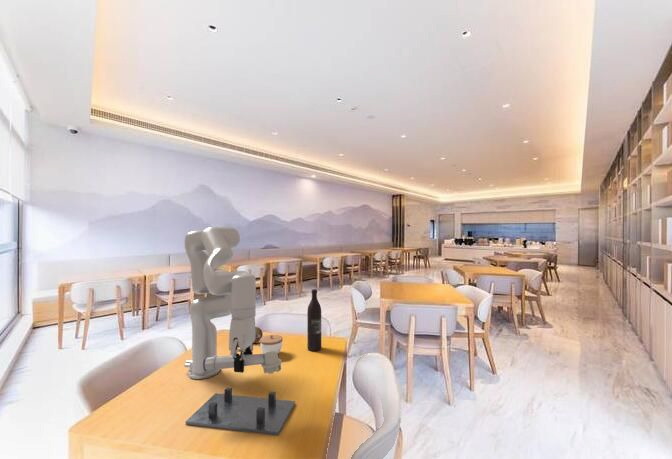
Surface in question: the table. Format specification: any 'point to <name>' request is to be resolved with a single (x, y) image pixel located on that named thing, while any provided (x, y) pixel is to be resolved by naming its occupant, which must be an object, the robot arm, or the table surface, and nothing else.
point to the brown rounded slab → (258, 335)
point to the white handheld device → (245, 362)
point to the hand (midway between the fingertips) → (243, 367)
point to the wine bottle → (314, 323)
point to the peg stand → (243, 413)
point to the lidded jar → (271, 343)
